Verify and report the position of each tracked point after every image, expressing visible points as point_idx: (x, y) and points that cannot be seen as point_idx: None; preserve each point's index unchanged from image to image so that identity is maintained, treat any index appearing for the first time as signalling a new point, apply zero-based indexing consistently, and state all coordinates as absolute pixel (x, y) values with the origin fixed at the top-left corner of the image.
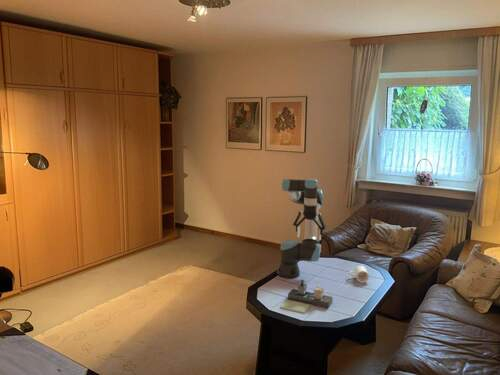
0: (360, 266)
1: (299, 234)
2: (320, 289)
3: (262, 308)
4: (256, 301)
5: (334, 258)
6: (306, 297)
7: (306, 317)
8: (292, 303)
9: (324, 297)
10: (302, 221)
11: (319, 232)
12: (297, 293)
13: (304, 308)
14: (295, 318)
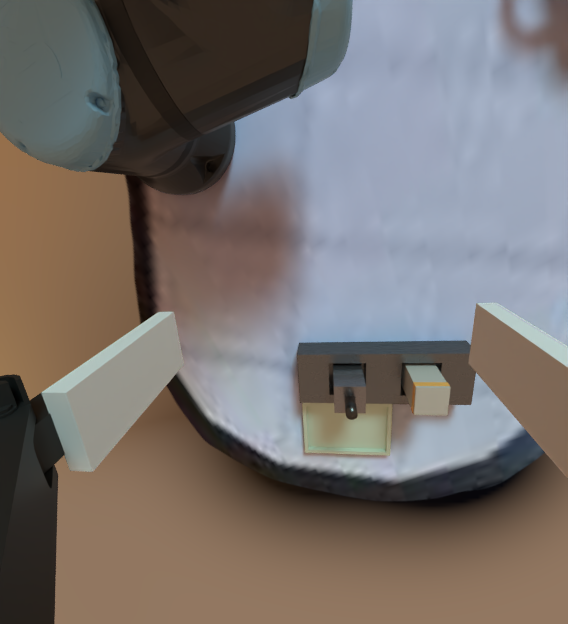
0: None
1: (162, 334)
2: (440, 406)
3: (257, 464)
4: (217, 434)
5: None
6: (375, 402)
7: (400, 463)
8: (328, 409)
9: (445, 372)
10: (42, 620)
11: (559, 449)
12: (328, 379)
13: (378, 424)
14: (371, 479)
